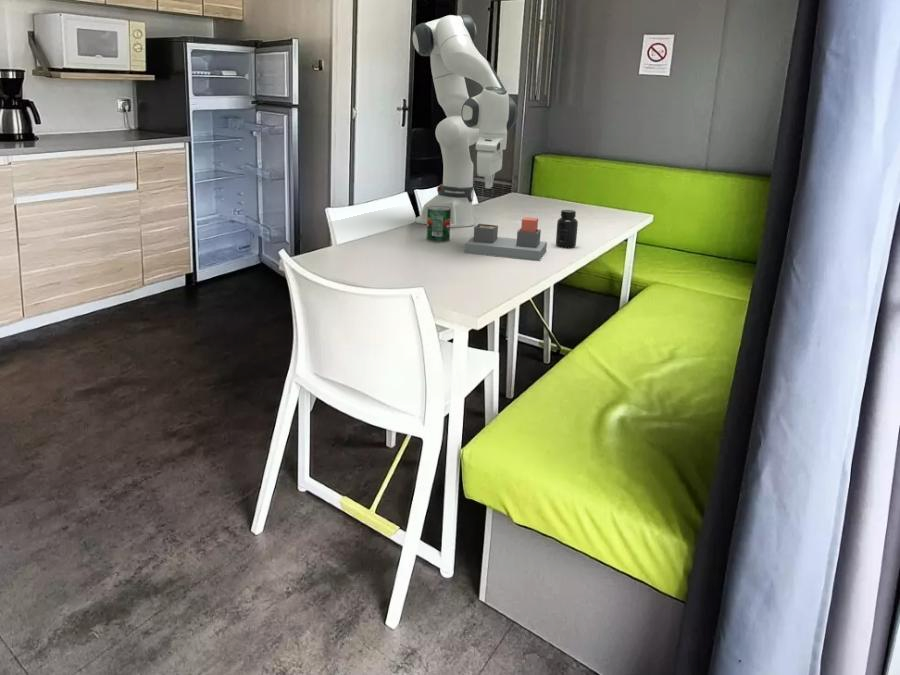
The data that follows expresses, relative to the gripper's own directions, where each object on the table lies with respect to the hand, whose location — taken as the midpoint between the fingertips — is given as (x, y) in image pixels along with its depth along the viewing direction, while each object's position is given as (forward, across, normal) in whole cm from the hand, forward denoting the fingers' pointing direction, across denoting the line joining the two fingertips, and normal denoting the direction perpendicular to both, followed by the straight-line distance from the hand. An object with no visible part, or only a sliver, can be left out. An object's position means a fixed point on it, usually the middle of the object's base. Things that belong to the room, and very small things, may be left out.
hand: (488, 187), depth 226 cm
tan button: (+17, 0, 0) cm, 17 cm away
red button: (+12, 0, +14) cm, 19 cm away
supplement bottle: (+20, -17, +24) cm, 35 cm away
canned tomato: (+20, -7, -18) cm, 28 cm away
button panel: (+20, 0, +7) cm, 21 cm away
